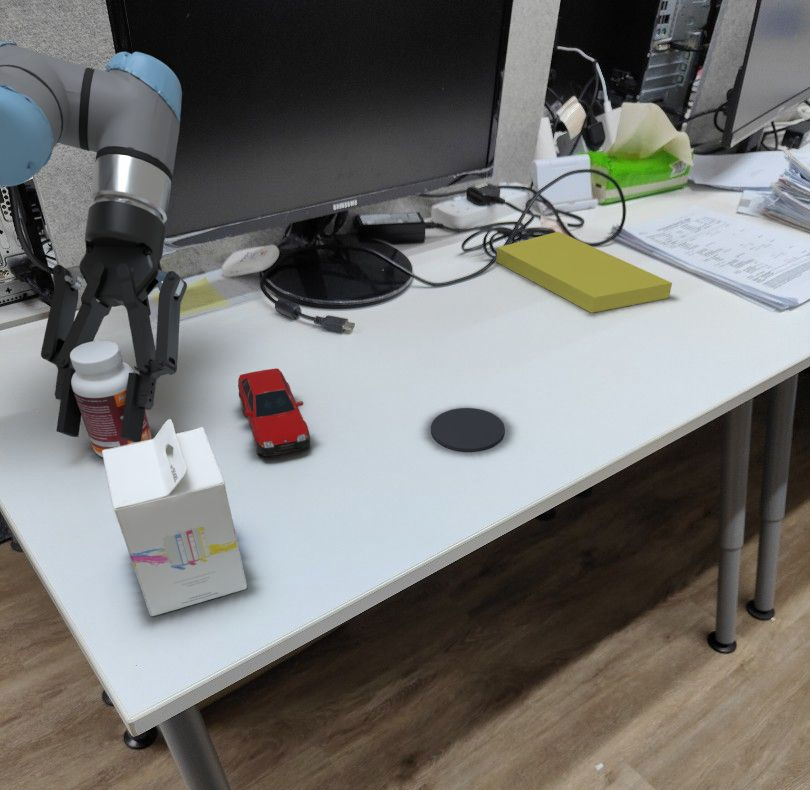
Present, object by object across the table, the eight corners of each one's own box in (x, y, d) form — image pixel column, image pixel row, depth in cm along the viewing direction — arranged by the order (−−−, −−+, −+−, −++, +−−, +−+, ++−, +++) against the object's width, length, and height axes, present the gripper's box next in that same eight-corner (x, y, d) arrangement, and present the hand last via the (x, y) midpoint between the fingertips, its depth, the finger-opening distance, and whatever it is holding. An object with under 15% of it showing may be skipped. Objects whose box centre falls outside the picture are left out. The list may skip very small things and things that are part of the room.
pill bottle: (142, 462, 79) (113, 367, 72) (84, 461, 80) (50, 366, 73) (160, 429, 84) (135, 336, 77) (106, 428, 84) (75, 336, 77)
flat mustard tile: (496, 261, 118) (603, 319, 102) (497, 247, 116) (606, 303, 101) (557, 245, 122) (668, 298, 107) (558, 231, 121) (672, 282, 105)
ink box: (134, 555, 69) (91, 429, 60) (226, 529, 71) (198, 405, 62) (150, 619, 63) (105, 491, 54) (249, 589, 65) (222, 462, 56)
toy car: (258, 467, 78) (250, 426, 75) (235, 398, 89) (227, 360, 85) (318, 454, 80) (313, 413, 77) (289, 388, 90) (283, 350, 87)
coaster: (417, 423, 84) (417, 420, 84) (477, 403, 87) (477, 400, 87) (456, 460, 79) (456, 456, 78) (519, 437, 82) (519, 434, 81)
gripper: (230, 236, 81) (203, 452, 79) (63, 228, 83) (35, 436, 82) (202, 200, 73) (171, 437, 72) (20, 193, 76) (-12, 421, 75)
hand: (99, 436), depth 77 cm, fingers closed on pill bottle, 6 cm apart
